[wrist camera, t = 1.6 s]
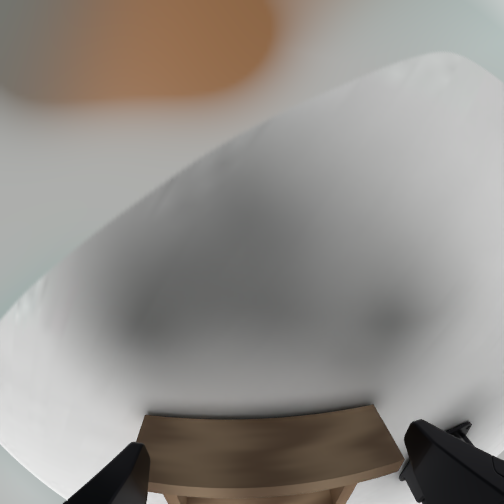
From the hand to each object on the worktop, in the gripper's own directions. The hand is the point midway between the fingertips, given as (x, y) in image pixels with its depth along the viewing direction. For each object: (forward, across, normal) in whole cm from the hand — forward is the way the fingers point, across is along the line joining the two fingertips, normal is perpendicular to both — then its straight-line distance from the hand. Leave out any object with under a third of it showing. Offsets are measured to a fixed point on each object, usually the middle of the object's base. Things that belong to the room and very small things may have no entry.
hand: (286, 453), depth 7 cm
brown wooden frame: (+6, 0, +11) cm, 13 cm away
